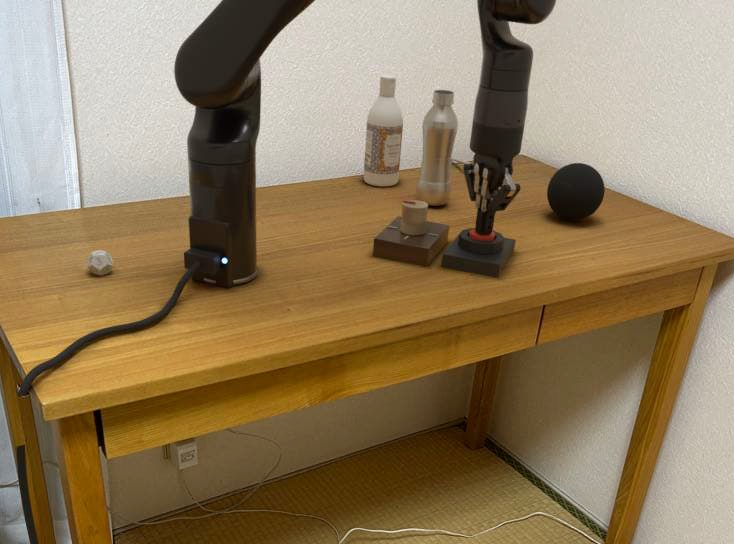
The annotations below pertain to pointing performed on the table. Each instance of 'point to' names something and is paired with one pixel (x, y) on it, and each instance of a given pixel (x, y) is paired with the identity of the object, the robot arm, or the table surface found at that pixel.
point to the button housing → (478, 254)
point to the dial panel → (410, 243)
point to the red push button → (481, 236)
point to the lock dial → (414, 217)
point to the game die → (100, 262)
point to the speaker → (575, 191)
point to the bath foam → (383, 137)
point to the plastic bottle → (437, 150)
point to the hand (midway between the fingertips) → (483, 233)
